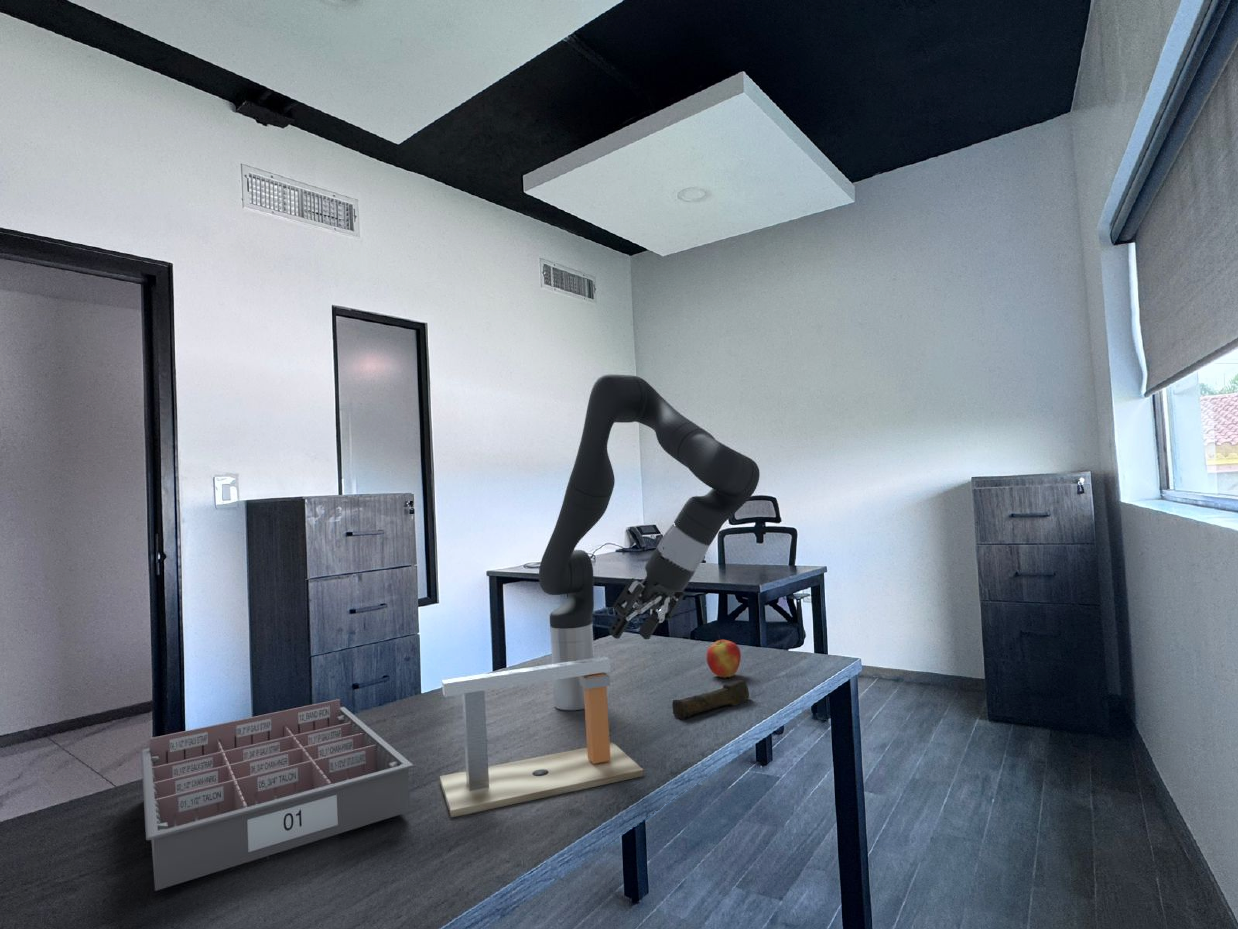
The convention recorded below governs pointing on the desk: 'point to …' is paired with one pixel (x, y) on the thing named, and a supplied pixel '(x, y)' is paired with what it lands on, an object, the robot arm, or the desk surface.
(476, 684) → the bar
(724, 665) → the apple
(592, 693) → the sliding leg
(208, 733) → the organizer tray
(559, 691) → the robot arm
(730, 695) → the hand tool
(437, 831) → the desk surface
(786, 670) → the desk surface
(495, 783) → the board
